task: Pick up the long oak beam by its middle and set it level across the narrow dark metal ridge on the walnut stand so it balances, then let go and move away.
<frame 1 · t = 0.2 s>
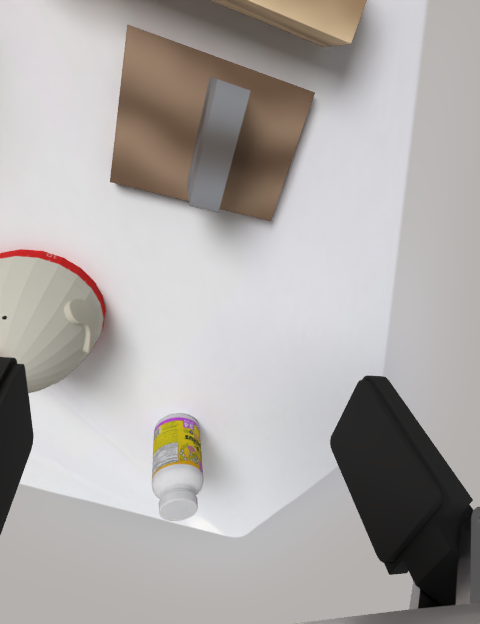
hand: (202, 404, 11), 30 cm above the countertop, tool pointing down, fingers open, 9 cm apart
walnut stand: (208, 135, 35), on the countertop
supplement bottle: (176, 425, 56), on the countertop
kitchen timer: (40, 305, 42), on the countertop
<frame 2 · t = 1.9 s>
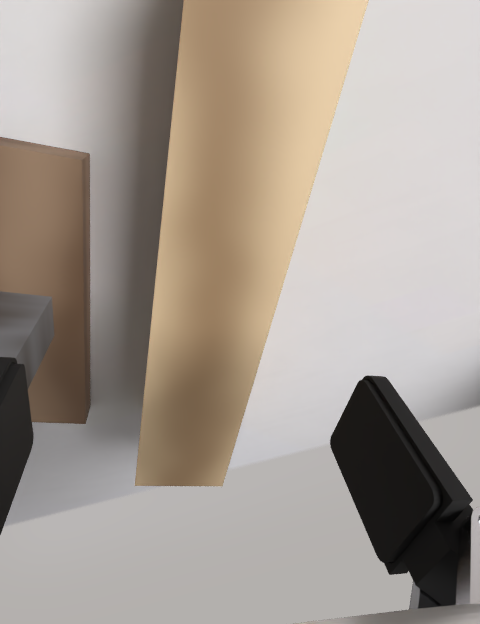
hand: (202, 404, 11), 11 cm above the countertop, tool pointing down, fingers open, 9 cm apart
oak beam: (207, 252, 20), on the countertop
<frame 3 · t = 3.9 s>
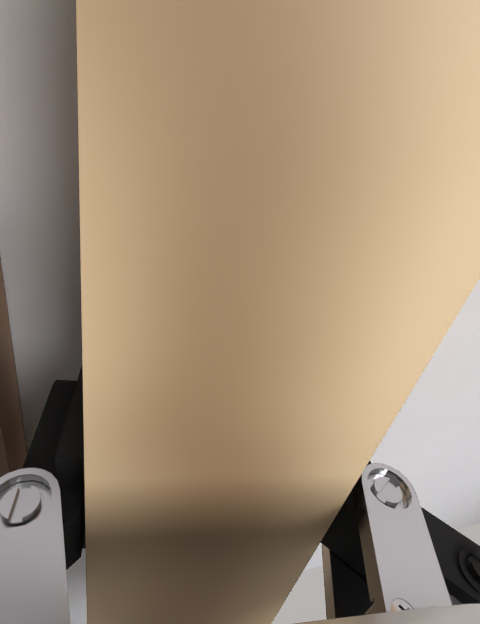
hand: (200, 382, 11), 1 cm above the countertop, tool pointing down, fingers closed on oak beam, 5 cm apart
oak beam: (197, 353, 13), on the countertop, touching gripper
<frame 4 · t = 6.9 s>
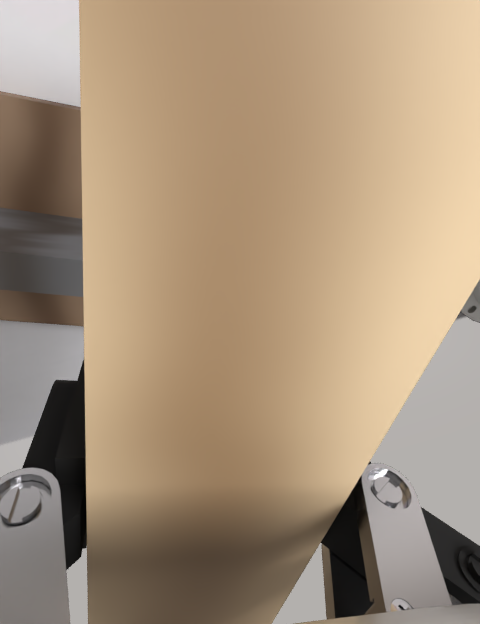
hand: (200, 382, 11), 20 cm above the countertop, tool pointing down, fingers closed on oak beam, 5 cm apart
walnut stand: (49, 222, 27), on the countertop
oak beam: (197, 353, 13), point 18 cm above the countertop, touching gripper
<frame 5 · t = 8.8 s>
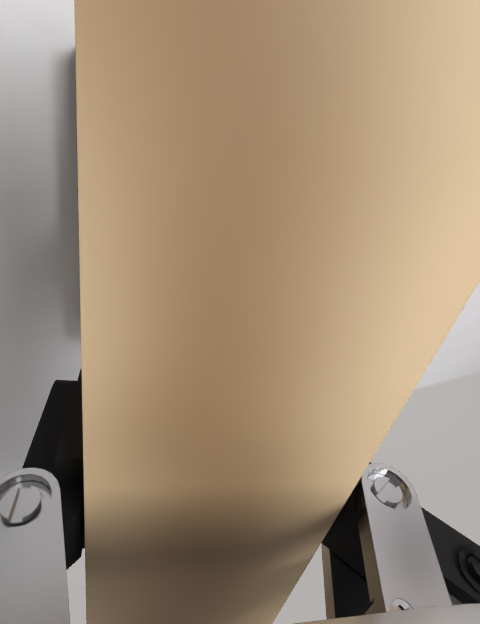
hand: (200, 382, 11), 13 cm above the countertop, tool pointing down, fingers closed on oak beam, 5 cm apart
oak beam: (197, 354, 13), point 12 cm above the countertop, touching gripper
when the fingers open (10 cm above the countertop, at t = 10.2 s): oak beam stays where it is, resting on walnut stand.
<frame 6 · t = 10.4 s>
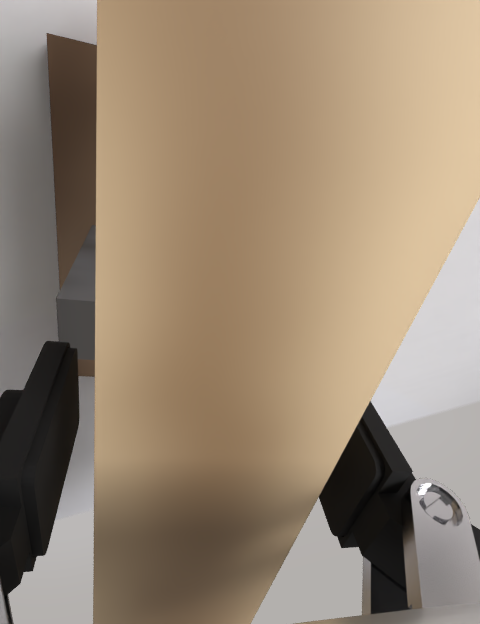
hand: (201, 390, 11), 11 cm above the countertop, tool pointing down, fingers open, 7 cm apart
walnut stand: (186, 248, 20), on the countertop
oak beam: (196, 340, 13), point 8 cm above the countertop, touching walnut stand
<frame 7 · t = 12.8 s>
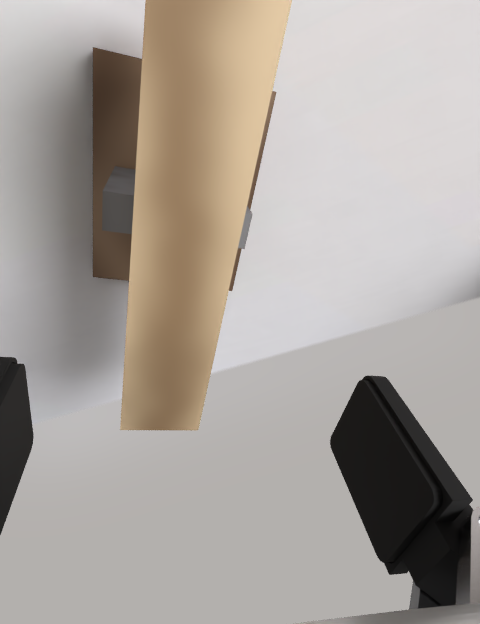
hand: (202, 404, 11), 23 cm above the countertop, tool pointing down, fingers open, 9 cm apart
walnut stand: (175, 187, 30), on the countertop
oak beam: (179, 222, 23), point 8 cm above the countertop, touching walnut stand
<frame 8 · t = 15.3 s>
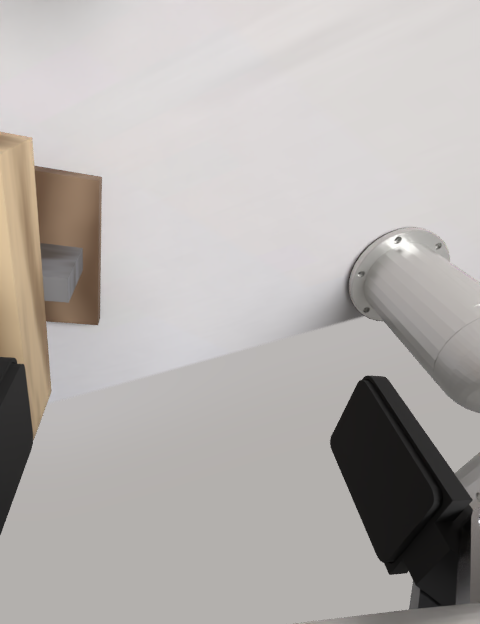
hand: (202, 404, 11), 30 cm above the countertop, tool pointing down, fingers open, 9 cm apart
walnut stand: (38, 247, 38), on the countertop
oak beam: (10, 286, 31), point 8 cm above the countertop, touching walnut stand
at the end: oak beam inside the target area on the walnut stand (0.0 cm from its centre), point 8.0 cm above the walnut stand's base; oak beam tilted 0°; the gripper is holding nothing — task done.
